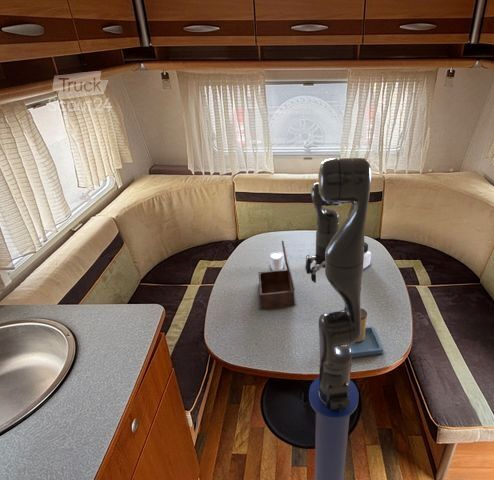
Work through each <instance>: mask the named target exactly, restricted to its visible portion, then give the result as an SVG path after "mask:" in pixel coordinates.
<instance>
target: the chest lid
mask: <svg viewBox="0 0 494 480" xmlns="http://www.w3.org/2000/svg"><path fill="white" fill-rule="evenodd" d="M281 246H282V251H283V252H282V253H283V255H284V263H285V267H286V269H287V271H288V275H289V279H290V282H291V286H292V290H293V291H294V292H295V290H296V289H295V284H294V280H293V274H292V269H291V265H290V264H291V263H290V260H289V257H288V252H287V248H286V245H285V241H284V240H281Z"/></svg>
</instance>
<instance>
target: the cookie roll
mask: <svg viewBox="0 0 494 480" xmlns="http://www.w3.org/2000/svg"><path fill="white" fill-rule="evenodd" d="M360 311H361V333H360V338H359V340H358V341H357V342H355V343H362V342H363V341H364V338H365V328H366V327H367V320H368V319H367V318H368V312H367V311H366V310H365V309H364V308H362V307H360Z"/></svg>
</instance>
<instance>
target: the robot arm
mask: <svg viewBox="0 0 494 480" xmlns="http://www.w3.org/2000/svg"><path fill="white" fill-rule="evenodd" d="M371 186H372V167H371V163H370V161H369V160H368V159H367V158H364V157H343V158H341V157H340V158H328V159H325V160H324V161H322V162H321V164H320V166H319V169H318V175H317V182H316V183H314V184H313V186H312V187H311V190H310V196H311V200H312V203H313V206H314V209H315V215H316V232H315V255H314V256H310V255H309V254H307V255H306V257H305V271H306V274H307V275H309V274H310V279H311V281H312V282H313V283H314V284H315V283H317V273H318V272H319V271H320V270H321V269H324V273H325V277H326V279H327V281H328V283H329V284H330V285H331V288H333V289H334V290H335V291H336V293H338V295H339V296H340V297H341V299H342V301H343V302H344V308H343V309H339V310H335V311H330V312H325V313H322V314H321V315H320V316H319V318H318V338H319V339H318V340H319V341H318V343H319V344H318V345H319V346H318V347H319V368H318V369H319V374H318V377H319V398H320V400H321V401H322V402H323V403H324V404H325V405H326V407H327V409H329V408H331V410H333V409H339V412H342V411H343V409H342V408H347V407H349V384H350V380H351V371H352V362H353V361H352V360H353V357H352V350H351V348H350V346H349V345H348V344H352V343H355V342H357V341H358V340H359V338H360V333H361V311H360V308H361V295H362V282H363V280H362V279H363V271H364V269H363V261H364V242H365V235H366V224H367V223H366V222H367V217H368V209H369V202H370V194H371ZM346 202H347V203H348V202H349V203H350V202H351V206H350V209H349V212H348V215H347V216H346V219H345V220H344V221H343V223H342V225H340V214H339V212H338V211H337V210H334V209H332V208H328V207H337V206H338V207H339V206H343V205H344V204H345V203H346ZM314 261H315V262H314ZM313 262H314V263H313ZM312 264H313V265H312ZM311 265H312V266H311Z"/></svg>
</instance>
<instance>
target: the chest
mask: <svg viewBox="0 0 494 480" xmlns="http://www.w3.org/2000/svg"><path fill="white" fill-rule="evenodd" d="M258 287H259V299H260V300H259V302H260V310H264V309H265V310H266V309H273V308H282V307H283V308H285V307H293V306H295V291H293V290H292V286H291V282H290V279H289V275H288V271H287V268H286V269H282V270H264V271H263V270H262V271H258Z"/></svg>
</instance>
